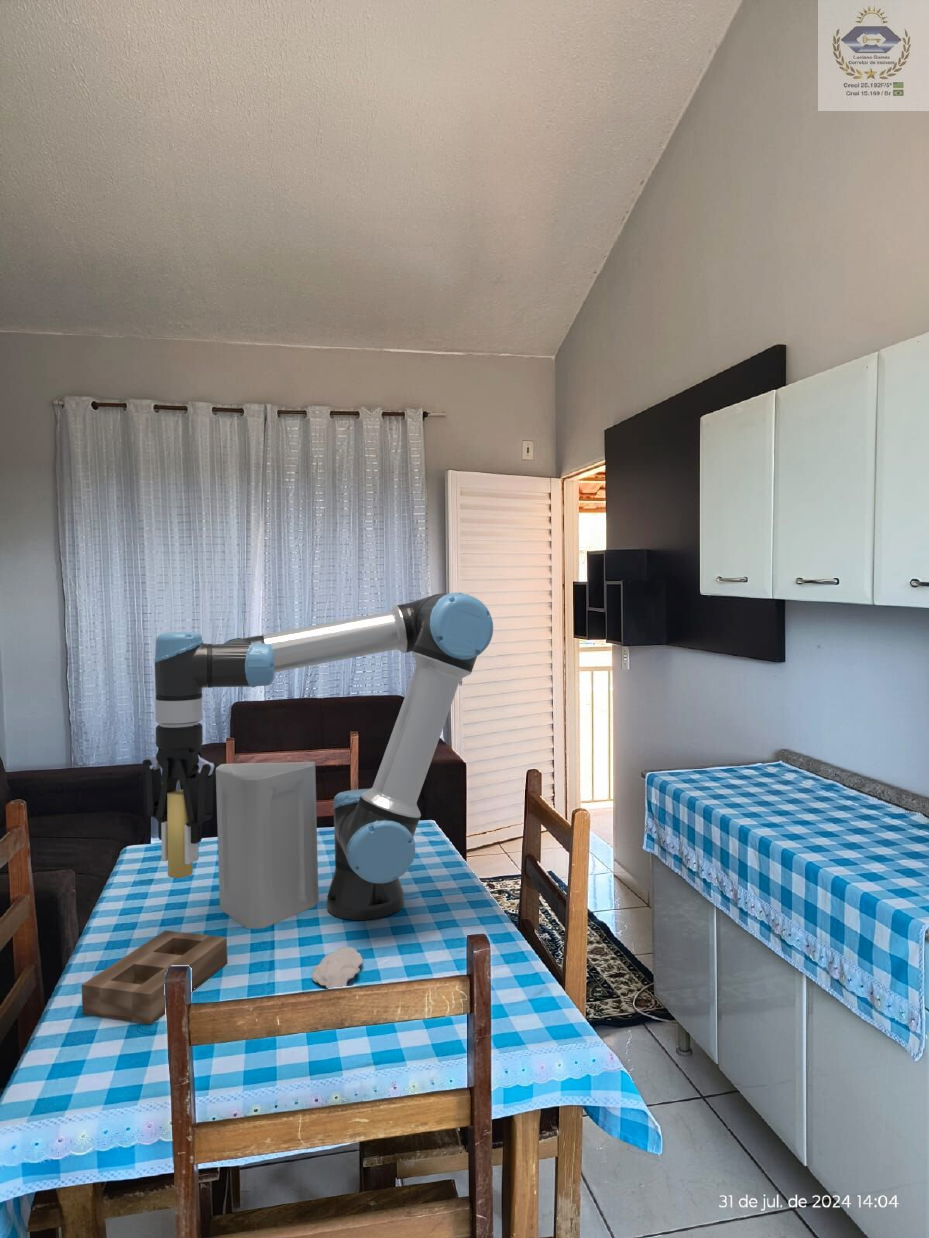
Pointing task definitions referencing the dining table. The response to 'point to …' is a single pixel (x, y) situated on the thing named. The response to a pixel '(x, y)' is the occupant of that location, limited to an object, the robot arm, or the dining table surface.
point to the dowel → (177, 835)
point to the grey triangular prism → (266, 841)
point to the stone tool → (337, 968)
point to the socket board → (151, 976)
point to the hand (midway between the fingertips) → (180, 859)
